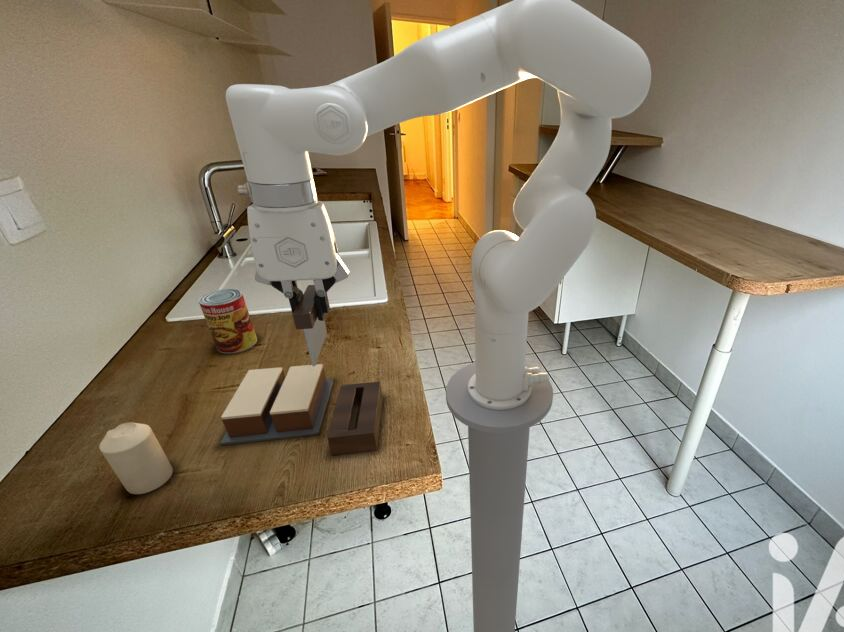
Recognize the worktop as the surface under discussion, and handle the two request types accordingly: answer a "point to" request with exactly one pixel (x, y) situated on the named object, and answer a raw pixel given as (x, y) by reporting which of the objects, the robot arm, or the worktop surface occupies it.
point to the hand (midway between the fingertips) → (312, 316)
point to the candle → (136, 457)
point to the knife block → (345, 415)
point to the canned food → (228, 320)
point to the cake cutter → (310, 323)
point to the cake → (277, 404)
